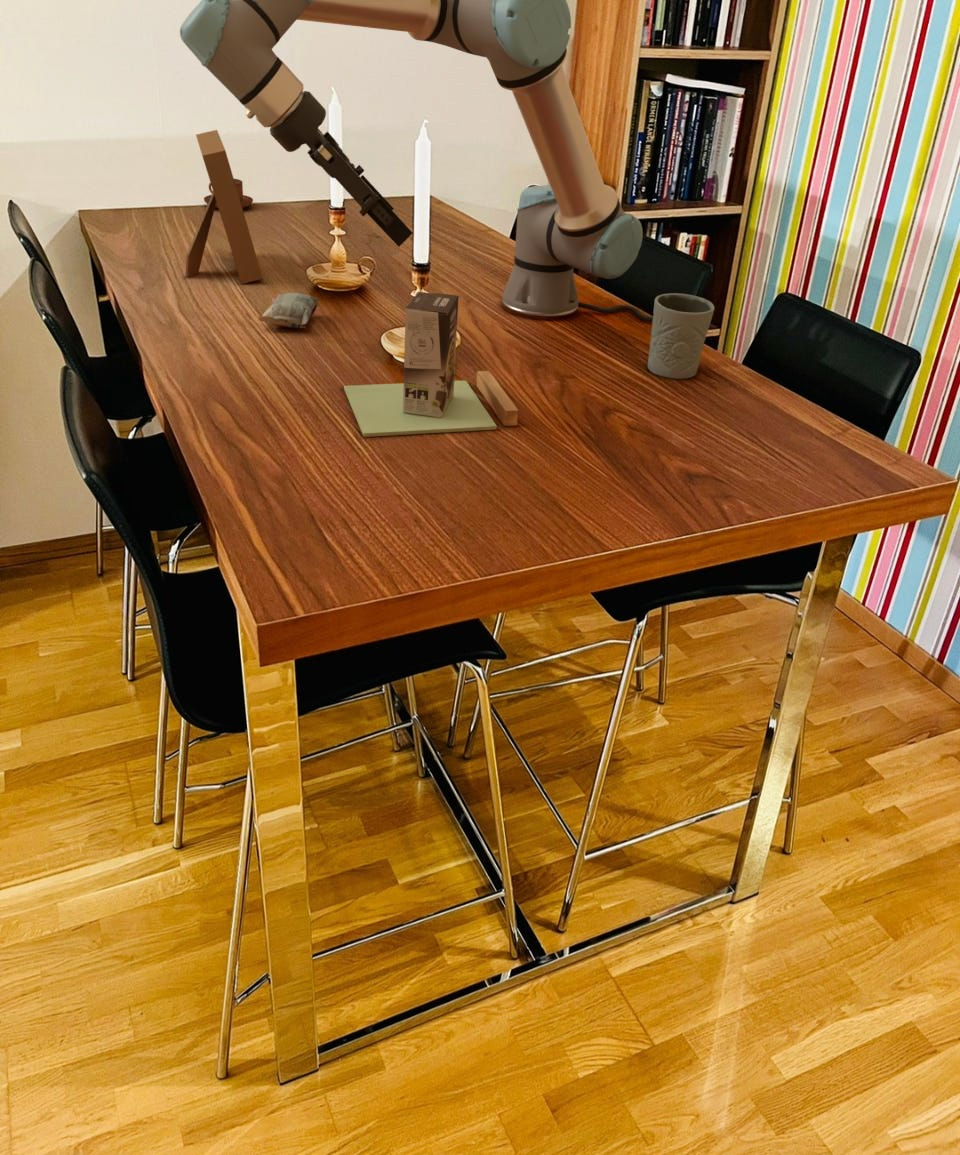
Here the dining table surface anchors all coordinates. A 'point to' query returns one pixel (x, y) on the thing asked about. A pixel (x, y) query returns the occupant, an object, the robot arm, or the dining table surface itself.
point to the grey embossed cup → (678, 334)
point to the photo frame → (223, 213)
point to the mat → (385, 415)
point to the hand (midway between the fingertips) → (396, 226)
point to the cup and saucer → (243, 199)
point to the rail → (497, 398)
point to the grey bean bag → (290, 310)
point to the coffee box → (430, 353)
